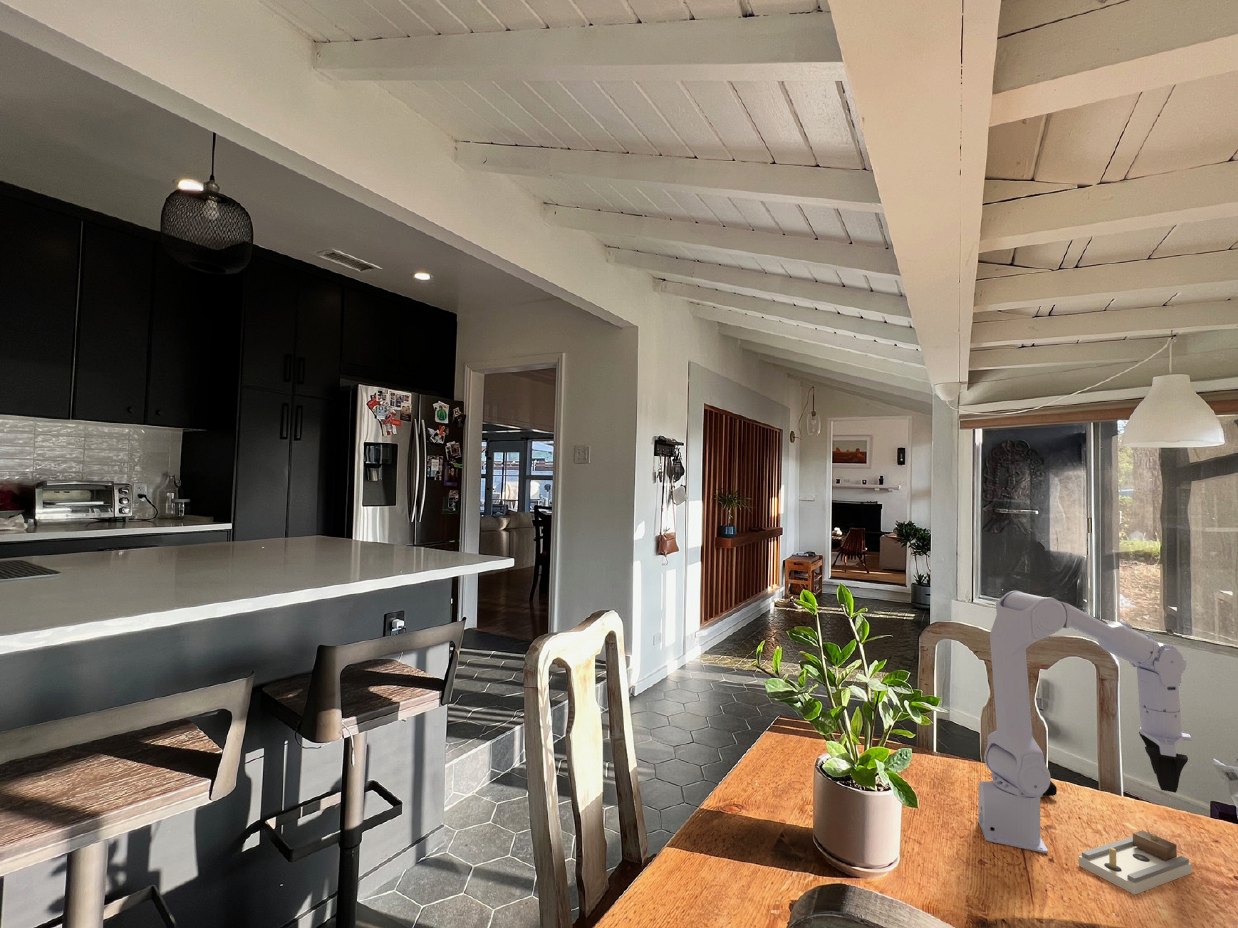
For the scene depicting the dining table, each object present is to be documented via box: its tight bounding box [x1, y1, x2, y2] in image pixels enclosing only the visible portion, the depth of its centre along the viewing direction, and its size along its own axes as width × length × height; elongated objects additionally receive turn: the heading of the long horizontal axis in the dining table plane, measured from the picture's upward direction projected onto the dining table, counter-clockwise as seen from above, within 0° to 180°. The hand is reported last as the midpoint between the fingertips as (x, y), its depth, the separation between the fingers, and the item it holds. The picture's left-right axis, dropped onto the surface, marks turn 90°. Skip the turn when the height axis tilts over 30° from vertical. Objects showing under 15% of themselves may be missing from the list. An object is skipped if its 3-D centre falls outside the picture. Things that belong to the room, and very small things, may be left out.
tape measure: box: [1043, 780, 1058, 797], centre depth 129 cm, size 7×7×4 cm
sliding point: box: [1132, 830, 1178, 860], centre depth 104 cm, size 3×5×2 cm, turn 23°
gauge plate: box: [1078, 835, 1193, 895], centre depth 102 cm, size 16×8×4 cm, turn 113°
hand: (1164, 782), depth 112 cm, fingers open, 7 cm apart
